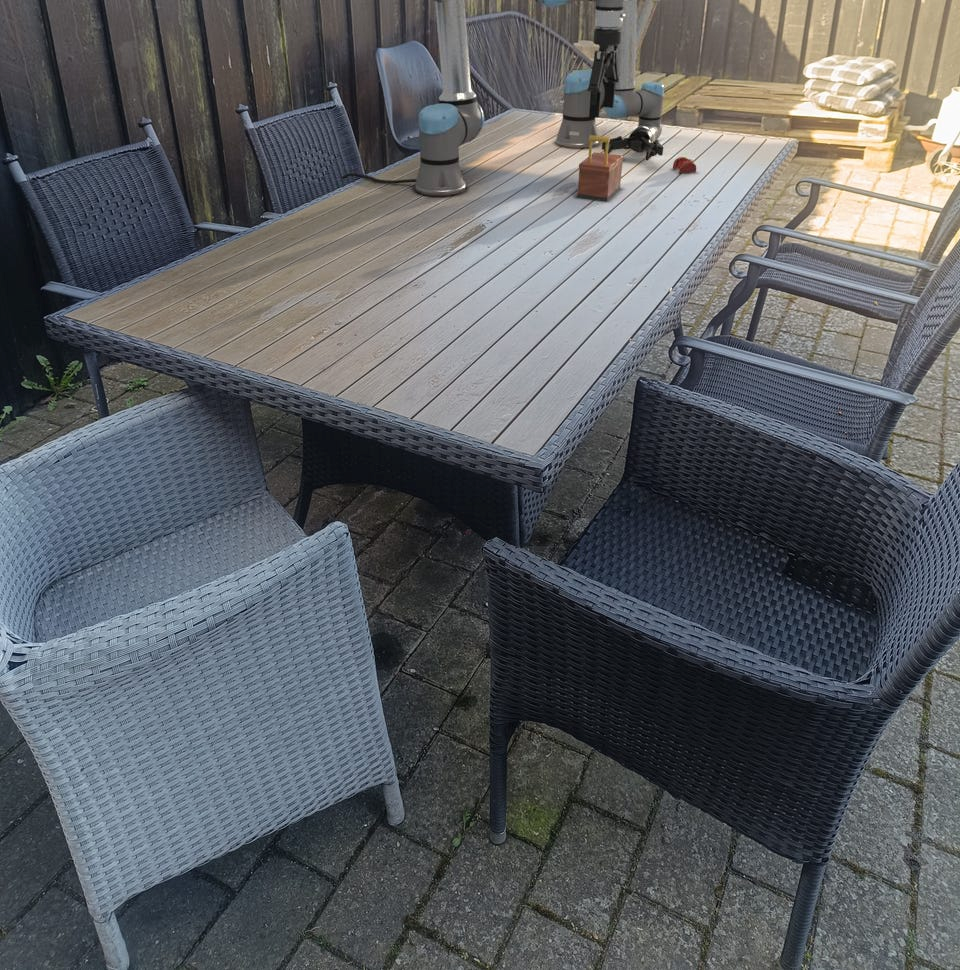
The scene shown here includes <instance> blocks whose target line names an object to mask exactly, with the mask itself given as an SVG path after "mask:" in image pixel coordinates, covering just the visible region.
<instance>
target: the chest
mask: <svg viewBox="0 0 960 970" xmlns="http://www.w3.org/2000/svg"><path fill="white" fill-rule="evenodd" d="M623 160H624V159H623ZM623 160H621V161H620V162H619V163H618V164H617V165H616V166H615V167H613V168H612V169H611V170H610V171H601V170H592V169H584V168H579V167H578V183H577V198H578V199H586V200H593V201H600V202H608V201H609V200H610V199H611V198H612V197H613V196H614V195H615V194H617V192H619V190H621V183H622V171H623V163H624V162H623Z"/></svg>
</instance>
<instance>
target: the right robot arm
mask: <svg viewBox="0 0 960 970" xmlns="http://www.w3.org/2000/svg"><path fill="white" fill-rule="evenodd" d="M660 1H661V0H624V10H623V14H625V18H623V22H622V26H621V27H620V28H621V30H622V36H621V43H620V44H619V45H618V50H617V56H618V78H619V82H614V83H615V95H614V107H613V108H608V107H604V97H605V85H606V82H607V78H606V72H605V74H604V78H603V81H602V85H601V89H600V92H601V101H600V110H604V112H605V114H606V116H607V117H608V118H609V119H611V120H617V119H621V120H622V119H624V118H631V117H636V116H637V117H638V124H637V127H636V128H635V129H634V130H633V131H632V132H631V133H630V134H629V136H628V137H624V138H623V136H621V135H619V136H617V137H614V138H610V142H609V146H608V154H611V153H612V151H616V150H622V149H624V150H625V151H626V150H632V152H635V153H639V154H640V153H644V152H645V153H646V154H645V161H649V160H650V159H651V158H652V157H655V156H657V155H658V156H660V157H661V156H663V155H664V154H663V153H664V146H663V145H662V144H661V142H660V141H659V138H660V137H661V134H662V132H663V126H662V123H661V122H662V112H663V106H664V105H663V104H664V98H665V85H664V84H663V83H662V82H659V81H645V82H643V83H642V85H641V88H640V90H636V61H637V57H638V55H639V52H640V49H641V47H642V44H643V41H644V38H645V36H646V33H647V31H648V28H649V26H650V23H651V20H652V18H653V15H654V13H655V10H656V8H657V5H658V2H660ZM591 72H592V69H580V70H574V71H572V72H570V73H568V74H567V75H566V77H565V78H564V86H563V103H562V104H563V106H562V120H561V123H560V126H559V129H558V132H557V135H556V140H555V143H556V144H557V145H558V146H561V147H564V148H571V149H589V143H590V141H589V136H590V135H593V136H599V132H598V127H597V123H596V117H589V111H590V97H591V92H590V91H588V87H589V83H590V77H591ZM599 143H600V142H595V141H592V148H593V147H596V146H598V145H599ZM605 147H606V143H605V142H601V150H603V151H604V152H603V153H604V154H605Z"/></svg>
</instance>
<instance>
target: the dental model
mask: <svg viewBox="0 0 960 970" xmlns="http://www.w3.org/2000/svg"><path fill="white" fill-rule="evenodd" d="M672 170H678V173H679V174H690V173H691V174H692V173H696V172H697V165H696V163H695V161H694V160H693V159H691V158H688V157H686V156H679V157H677V158H676V159H674V161H673V164H672Z"/></svg>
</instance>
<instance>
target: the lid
mask: <svg viewBox="0 0 960 970" xmlns="http://www.w3.org/2000/svg"><path fill="white" fill-rule="evenodd" d="M610 139H611V137H610V136H603V135H598V136H593V135H590V136H589V141H590V143H589V148H588V156H587V157H586V158H585V159H583V160H582V161H581V162H580V163H578V169H579V168H584V169H592V170H601V171H610V170H611V169H612V168H613V167H615V166H616V165H617V164H618V163H619V162H620V161H621V160H624V155H620V154H614V153H613V154H612V153H609V154H608V146H609V142H610ZM592 141H595V142H599V143H602V142H605V143H606V147H605V154H604V152H593V147H592ZM592 152H593V153H592Z"/></svg>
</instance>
